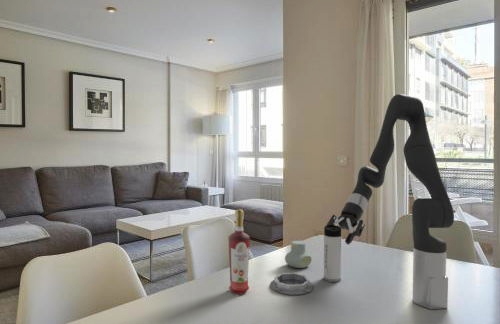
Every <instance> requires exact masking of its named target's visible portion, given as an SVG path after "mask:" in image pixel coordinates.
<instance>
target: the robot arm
mask: <svg viewBox="0 0 500 324" xmlns="http://www.w3.org/2000/svg"><path fill="white" fill-rule="evenodd" d="M425 114H426V112H425V107H424V103H423V101H422V100H421V99H420V98H419V97H417V96H412V95H407V94H402V93H397V94H395V95H394V96H392V98H391V99H390V101H389V103H388V105H387V108H386V112H385V114H384V119H383V122H382V126H381V129H380V131H379V132H380V133H379V136H378V139H377V142H376V145H375V147H374V148H373V151H372V153H371V156H370V157H369V162H370V164H371V165H373V166H374V167H375V168H376V169H375V168H372V167H371V166H367V165H364V166H362V167H361V168H360V169H359V171H358V174H357V180H356V185H355V187H354V189H353V191H352V192H351V195H350V196H349V198H348V199H347V200H346V203H345V204H344V206H343V207H342V210H341V213H340V216H336V215H335V214H332V216H331V217H330V218H329V221H327V223H326V225H325V226H327V225H329V224H334V225H335V226H339V227H341V230H342V229H343V230H347V231H349V233H348V234H347V237H346V238H345V240H344V243H345V244H346V245H350V244H351V243H352V242H353V240H354V238H355V237H361V235H362V233H363V231H364V228H365V226H366V224H365V221H364V220H363V219H361V218H362V216H363V214H364V212H365V210H366V208H367V205H368V203H369V202H370V199H371V197H372V195H373V189H372V188H375V189H377V188H380V187H382V186H383V184H384V181H385V176H386V170H387V169H386V168H387V166H388V163H389V162H390V159H391V158H392V155H393V153H394V150H395V140H394V127H395V125H396V123H397V120H401V121H404V122H405V121H406V122H407V123H408V126H409V130H410V131H409V135H408V137H407V139H406V142H405V143H404V146H403V156H404V160H405V163H406V167H407V169H408V171H409V172H411V174H412V175H413V176H414V177H415V178H416V179H417V180H418V181H419V182H420V183H421V184H422V185H423V186H424V187H425V188H426V190H427V192H428V193H429V196H430V197H429V198H428V197H425V198H424V197H420V198H416V199H415V200H414V201H413V203H412V208H411V217H412V219H411V222H412V240H413V252H412V254H413V255H412V256H413V258H412V259H413V260H412V262H413V263H412V301H413V302H414V303H415V304H416V305H418V306H421V307H424V308H427V309H429V310H441V309H447V308H448V299H449V298H448V297H449V295H448V294H449V277H448V276H446V275H447V251H448V250H447V247H448V246H447V242H446V241H445V240H443V239H441V238H439V237H436V236H433V235H431V233H430V229H448V228H450V227H452V226H453V224H454V221H455V213H454V208H453V205H452V202H451V200H450V197H449V194H448V192H447V189H446V188H445V185H444V182H443V179H442V177H441V173H440V171H439V166H438V163H437V162H438V161H437V158H436V155H435V154H436V153H435V151H434V148H433V145H432V141H431V139H430V135H429V131H428V126H427V120H426V115H425ZM371 187H372V188H371ZM355 227H356V228H355Z"/></svg>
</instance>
